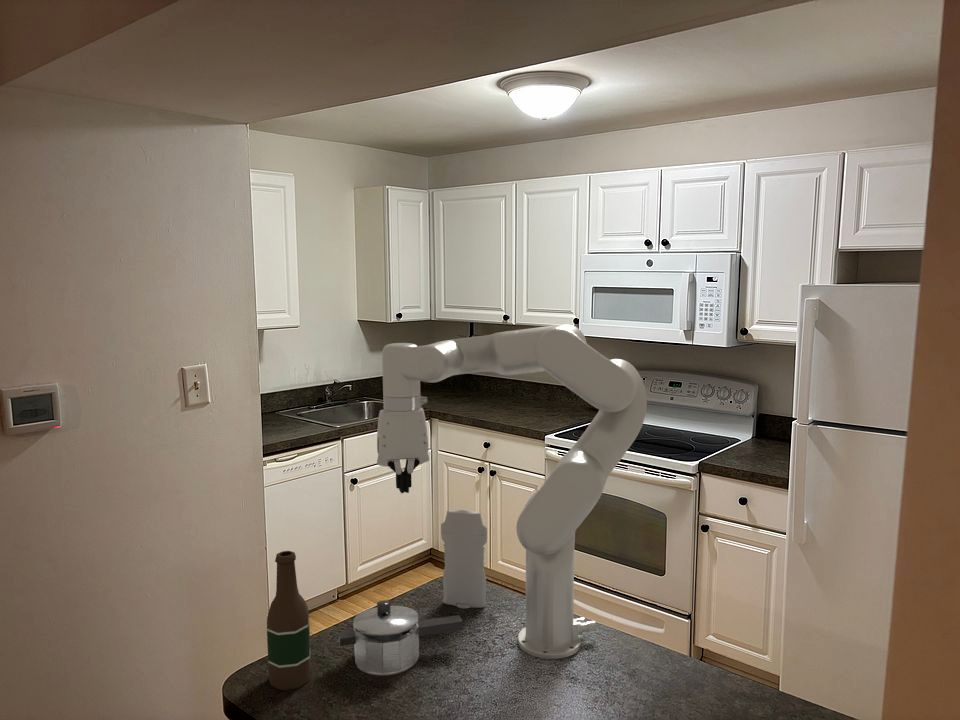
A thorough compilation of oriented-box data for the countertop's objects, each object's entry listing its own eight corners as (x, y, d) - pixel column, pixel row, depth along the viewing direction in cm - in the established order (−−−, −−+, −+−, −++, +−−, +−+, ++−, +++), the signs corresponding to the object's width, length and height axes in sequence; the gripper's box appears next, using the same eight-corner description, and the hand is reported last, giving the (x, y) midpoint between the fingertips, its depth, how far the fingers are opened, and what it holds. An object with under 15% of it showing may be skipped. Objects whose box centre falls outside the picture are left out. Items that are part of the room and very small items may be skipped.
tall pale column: (489, 602, 156) (489, 508, 154) (485, 611, 152) (484, 514, 150) (444, 597, 159) (443, 505, 156) (439, 606, 155) (437, 511, 152)
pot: (453, 629, 144) (452, 600, 143) (469, 662, 132) (468, 630, 131) (337, 647, 138) (336, 616, 137) (342, 683, 125) (341, 649, 125)
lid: (412, 605, 140) (411, 592, 140) (424, 630, 129) (423, 615, 128) (350, 614, 137) (349, 600, 137) (356, 640, 125) (356, 625, 125)
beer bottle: (300, 694, 122) (295, 563, 119) (260, 689, 124) (254, 560, 121) (319, 669, 130) (314, 546, 127) (281, 665, 131) (275, 543, 129)
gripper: (433, 398, 147) (435, 482, 149) (362, 402, 143) (365, 489, 145) (441, 404, 140) (443, 493, 142) (367, 409, 135) (369, 500, 138)
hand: (403, 491), depth 143 cm, fingers closed
